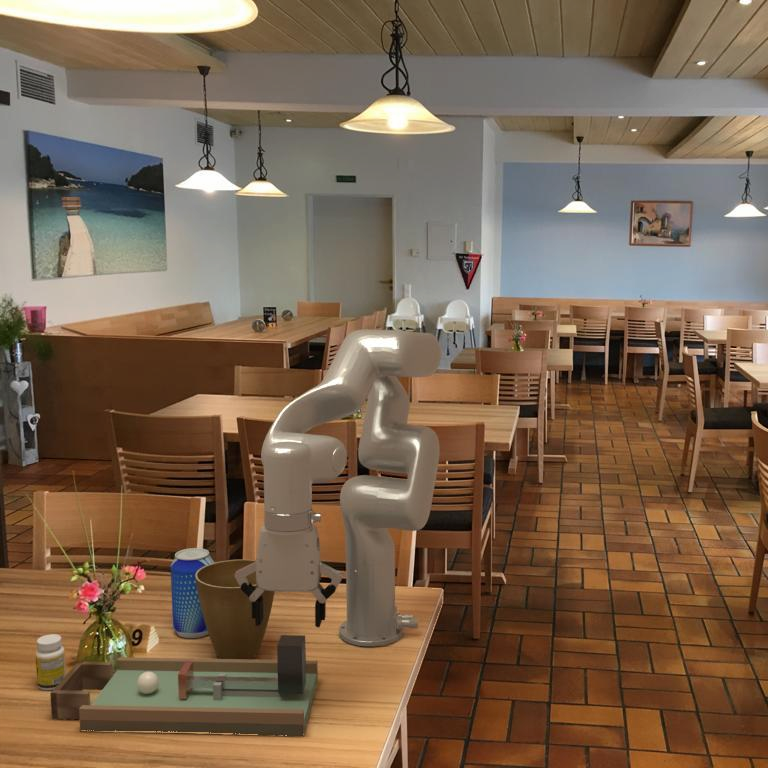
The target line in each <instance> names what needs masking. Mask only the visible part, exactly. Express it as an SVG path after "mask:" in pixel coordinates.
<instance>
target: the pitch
mask: <svg viewBox="0 0 768 768" xmlns="http://www.w3.org/2000/svg"><path fill="white" fill-rule="evenodd" d="M186 661H193V672H194V676H214V677H268V678H278V666H277V659H251V660H249V659H219V658H191V657H190V658H187V657H186V658H185V657H177V658H175V657H174V658H173V657H128V656H125V657H124V656H121V657H120V656H119V657H118V658H117V660H116V666H117V667H116V671H115V672H114V673H113V677H112V678H111V679H110V681H109V682H108V683H107V684H106V686H105V687H104V688H103V690H102V689H101V691H100V693H99V694H98V695H97V696H96V698H95V699H94V700H93V702H91V703H90V705H82V706H81V707H80V708H79V717H80V720H79V728H80V729H79V731H80V730H86V731H87V730H88V731H89V730H90V731H91V730H92V731H93V730H94V731H115V730H116V731H156V732H157V731H161V732H162V731H163V732H168V731H170V732H171V731H172V732H173V731H174V732H176V731H177V732H209V733H210V732H211V733H233V734H235V733H236V734H239V733H240V734H258V735H275V736H274V737H279V736H278V735H283V736H282V737H295V736H303V737H304V735H303V734H305V732H304V731H306V728H305V727H307V724H308V721H309V716H310V713H311V712H310V711H311V709H312V704H313V701H314V696H315V693H316V689H317V685H318V682H319V675H318V671H319V670H318V660H306V685H305V688H304V692H303V694H278V690H261V689H222V682H214V684H213V689H209V688H192V689H191V691H190V693H189V695H188V697H187V698H186V699H179V689H178V673H179V672H180V670H181V668H182V667H183V665H184V663H185V662H186ZM144 672H153V673H155V674H156V675H157V676H158V679H159V685H158V687H157V689H156V690H155V691H154V692H152V693H150V694H144V693H142V692H140V691H139V689H138V687H137V680H138V678H139V676H140V675H141V674H143V673H144ZM285 735H287V736H285Z"/></svg>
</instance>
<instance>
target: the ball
mask: <svg viewBox="0 0 768 768" xmlns="http://www.w3.org/2000/svg"><path fill="white" fill-rule="evenodd" d="M158 685H159V679H158V676H157V675H156V674H155V673H153V672H144V673H143V674H141V675H140V676H139V678H138V680H137V687H138V689H139V691H140V692H142V693H144V694H150V693H152V692H154V691H155V690H156V689H157V687H158Z"/></svg>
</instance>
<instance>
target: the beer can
mask: <svg viewBox="0 0 768 768" xmlns="http://www.w3.org/2000/svg"><path fill="white" fill-rule="evenodd" d="M212 563H215V562H214V560H213V558H212V557H211V556H210V552H209V550H208V549H205V548H201V547H200V548H199V547H197V548H196V547H194V548H193V547H192V548H191V547H190V548H185V549H181V550H179V551H177V552H175V554H174V559H173V561H172V563H171V564H170V584H171V585H170V587H171V609H172V612H171V613H172V628H173V631H175V632H176V633H177V636H179V637H181V638H184V639H197V638H198V639H200V638H203V637H206V636H209V633H208V630H207V627H206V624H205V620H204V617H203V613H202V609H201V605H200V601H199V596H198V591H197V585H196V578H195V574H196V572H197V571H198V570H199V569H200V568H202V567H204V566H206V565H209V564H212Z"/></svg>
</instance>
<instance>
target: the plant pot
mask: <svg viewBox="0 0 768 768" xmlns="http://www.w3.org/2000/svg"><path fill="white" fill-rule="evenodd" d="M256 561H257V559H256V560H255V559H230V560H229V559H228V560H222V561H217V562H214V563H212V564H209V565H206V566H204V567H202V568H200V569H199V570H198V571H197V572H196V574H195V578H196V585H197V591H198V596H199V601H200V605H201V609H202V613H203V617H204V620H205V624H206V627H207V630H208V633H209V634H208V636H209V638H210V641H211V643H212V646H213V649H214V651H215V653H216V655H217V657H218V658H217V659H249V660H254V659H255V658H256V656H257V655H258V654H259V651H260V648H261V646H262V642H263V640H264V636H265V634H266V630H267V628H268V624H269V621H270V620H269V619H270V616H271V613H272V608H273V602H274V598H275V597H274V596H275V592H276V591H264V592H263V593H262V594H261V595H262V597H263V620H262V622H261V624H260V625H259V626H256V625H255V619H253V618H252V601H250V599H249V597H248V596H247V595H246V594H245V593H244V592H243V591H242V590H241V587H240V585H239V584H238V582H237V580H236V578H235V576H234V575H235V573H236V571H237V570H239V569H242V568H244V567H246V566H248V565H250V564H252V563H254V562H256ZM246 578H247V580H248V582H250V583H251V584H252V585H253V586H254V587H256V586H257V585H256V572H254V573H251V574H249V575H247V576H246Z"/></svg>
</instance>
